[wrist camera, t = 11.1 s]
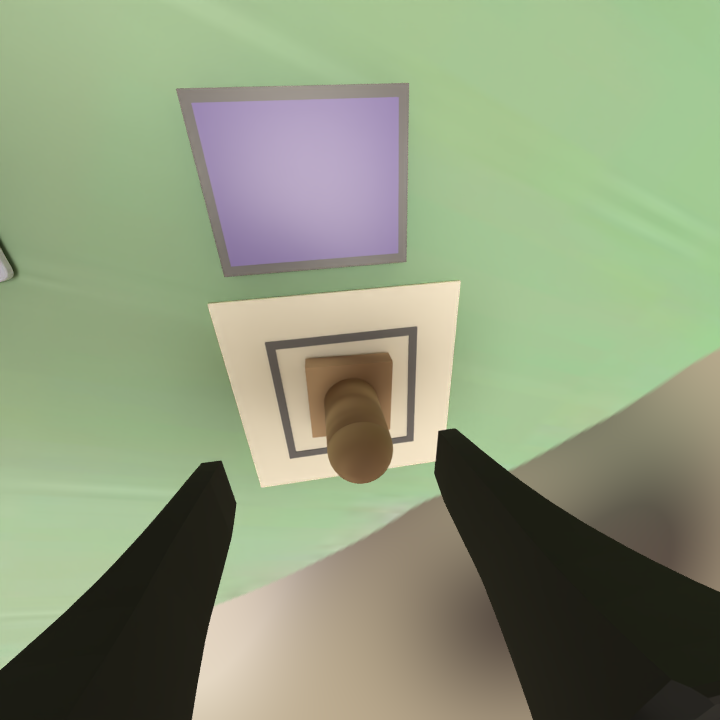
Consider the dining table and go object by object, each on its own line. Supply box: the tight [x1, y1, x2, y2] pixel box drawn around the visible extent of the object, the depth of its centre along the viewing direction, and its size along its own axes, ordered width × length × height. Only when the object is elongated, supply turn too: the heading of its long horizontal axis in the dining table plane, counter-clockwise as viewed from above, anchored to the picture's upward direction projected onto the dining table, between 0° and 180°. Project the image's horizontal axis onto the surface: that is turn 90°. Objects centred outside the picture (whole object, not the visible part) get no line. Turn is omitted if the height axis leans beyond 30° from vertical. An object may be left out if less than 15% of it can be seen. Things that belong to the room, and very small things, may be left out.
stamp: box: [305, 353, 393, 484], centre depth 17 cm, size 5×5×7 cm
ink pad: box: [176, 83, 409, 277], centre depth 14 cm, size 9×7×2 cm
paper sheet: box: [207, 280, 461, 488], centre depth 20 cm, size 14×14×1 cm
